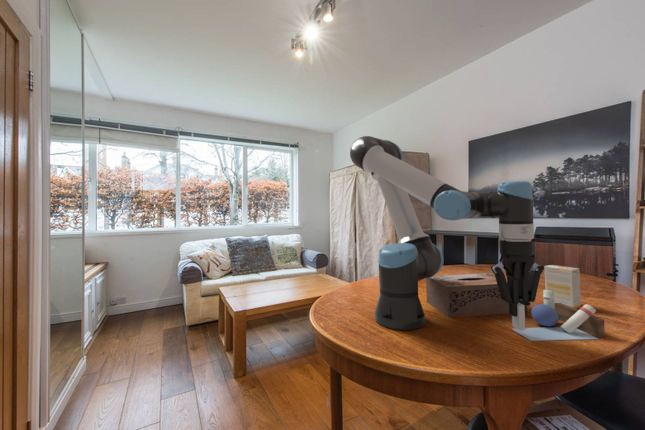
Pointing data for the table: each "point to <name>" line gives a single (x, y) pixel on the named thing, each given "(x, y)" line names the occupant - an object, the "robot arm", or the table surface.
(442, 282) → the tissue box cover
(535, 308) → the ball
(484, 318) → the table surface
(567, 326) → the pin
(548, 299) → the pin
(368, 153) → the robot arm
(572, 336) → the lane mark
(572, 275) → the supplement box
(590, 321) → the rail
